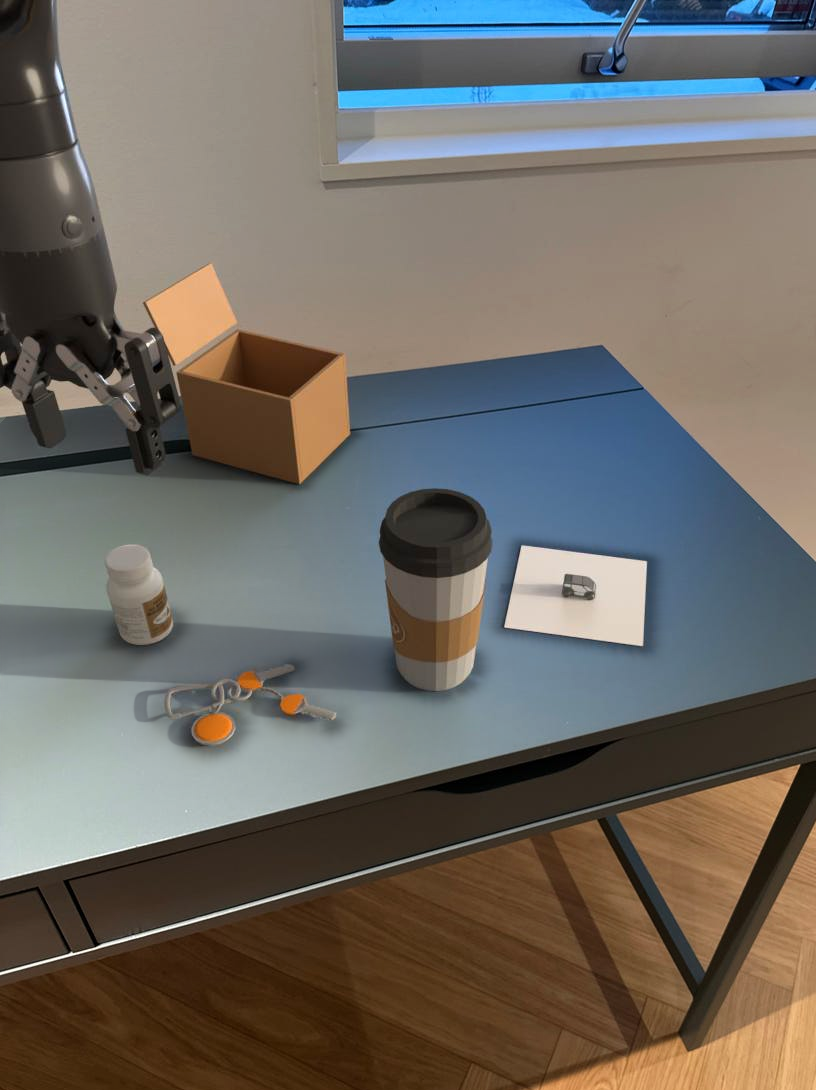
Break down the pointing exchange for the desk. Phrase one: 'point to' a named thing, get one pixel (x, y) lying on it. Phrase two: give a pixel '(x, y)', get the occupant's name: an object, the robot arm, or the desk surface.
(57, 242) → the robot arm
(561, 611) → the white square mat
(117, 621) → the pill bottle
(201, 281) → the bin flap
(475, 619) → the coffee cup
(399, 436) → the desk surface
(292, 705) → the key chain
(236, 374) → the carton
